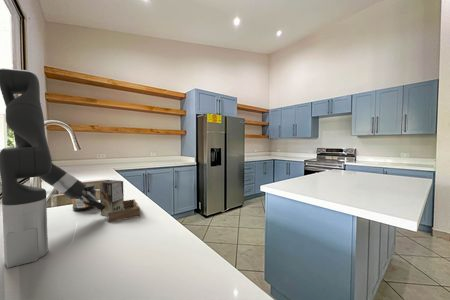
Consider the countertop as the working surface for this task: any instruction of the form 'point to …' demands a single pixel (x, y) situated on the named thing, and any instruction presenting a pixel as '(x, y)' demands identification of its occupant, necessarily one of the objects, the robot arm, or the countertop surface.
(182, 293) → the countertop surface
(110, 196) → the coffee box
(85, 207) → the supplement container
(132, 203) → the walnut pen
